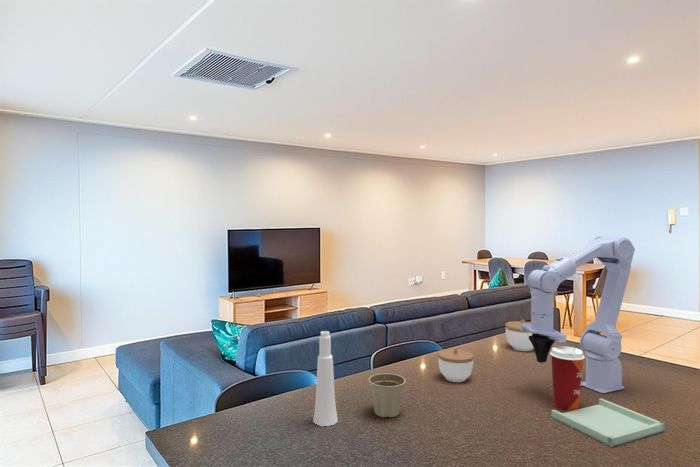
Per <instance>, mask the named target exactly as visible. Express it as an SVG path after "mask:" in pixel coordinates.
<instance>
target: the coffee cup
mask: <svg viewBox="0 0 700 467" xmlns="http://www.w3.org/2000/svg"><path fill="white" fill-rule="evenodd" d="M549 355H550V356H551V374H552V391H553V392H552V393H553V394H552V396H553V405H554V406H555V407H556V408H557V409H559V410H562V411H565V412H569V411H574V410H578V409H580V404H581V395H582V394H581V392H582V385H581V382H583V380H582V379H583V369H584V368H583V366H584V359H586V355H585V354H584V351H583V349H580V348H576V347H572V346H565V345H563V346H562V345H559V346H552V347H551V350H550V351H549Z"/></svg>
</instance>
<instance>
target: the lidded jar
mask: <svg viewBox="0 0 700 467" xmlns="http://www.w3.org/2000/svg"><path fill="white" fill-rule="evenodd" d="M437 357H438V359H437V360H438V368H439V371H440V374H442V376H443V377H444V378H445V380H446V381H448V382H452V383H463V382H465V381H466V380H467V379H469V377H470V376H471V374H472V371H473V368H474V359H475V358H474V354H473V353H472V352H470V351H467V350H463V349H458V348H451V349H450V348H448V349H442V350H439V351H438V353H437Z"/></svg>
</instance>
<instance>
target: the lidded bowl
mask: <svg viewBox="0 0 700 467" xmlns="http://www.w3.org/2000/svg"><path fill="white" fill-rule="evenodd" d="M523 323H526V324H531V321H526V320H525V319H520V320H519V321H518V320H516V321H514V320H513V321H507V322H505V324H504V325H505V326H504V327H505V336H506V340H507V342H508V344H509V346H511V347H512V349H513V350H515V351H519V352H531V351H533V350H534V348H533V345H532V343H531V341H530V340H529V336H532V333H530V332H527V331H521V330H520V324H523Z"/></svg>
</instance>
